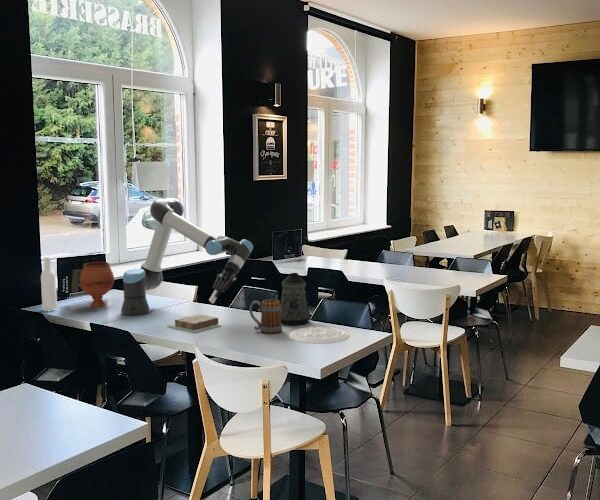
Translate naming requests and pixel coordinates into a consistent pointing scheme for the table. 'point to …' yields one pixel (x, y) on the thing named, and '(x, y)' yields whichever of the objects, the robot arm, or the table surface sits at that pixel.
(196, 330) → the mat
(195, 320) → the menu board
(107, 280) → the goblet
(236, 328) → the table surface
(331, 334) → the ceiling medallion
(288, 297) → the beer stein
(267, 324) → the mug
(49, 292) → the bottle
